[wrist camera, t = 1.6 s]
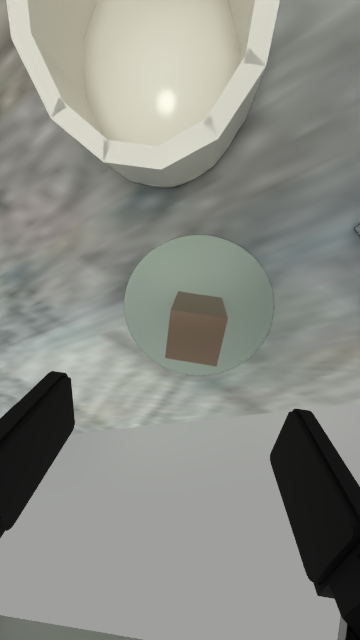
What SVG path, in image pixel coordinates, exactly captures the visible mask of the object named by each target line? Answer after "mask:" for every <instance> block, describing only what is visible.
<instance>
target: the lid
mask: <svg viewBox="0 0 360 640" xmlns="http://www.w3.org/2000/svg"><path fill="white" fill-rule="evenodd" d="M124 310H125V317H126V322H127V325H128V328H129V331H130V333H131V335H132V337H133V339H134V340H135V342H136V344H137V345H138V346H139V348H140V349H141V350H142V351H143V352H144V353H145V354H146V355H147V356H148V357H149V358H150V359H152V360H153V361H154V362H156V363H157V364H159V365H161V366H162V367H165V368H167V369H169V370H171V371H174V372H177V373H182V374H186V375H195V376H204V375H213V374H217V373H221V372H224V371H227V370H230V369H232V368H234V367H236V366H238V365H240V364H241V363H243V362H244V361H246V360H247V359H248V358H249V357H251V356H252V355H253V354H254V353H255V352H256V351H257V350H258V348H259V347H260V346H261V344H262V343H263V341H264V340H265V338H266V336H267V334H268V332H269V330H270V327H271V324H272V320H273V313H274V297H273V292H272V287H271V284H270V282H269V279H268V277H267V275H266V273H265V271H264V269H263V268H262V267H261V265H260V264H259V263H258V261H257V260H256V259H255V258H254V257H253V256H252V255H251V254H250V253H248V252H247V251H246V250H244V249H243V248H242V247H240V246H238V245H236V244H234V243H233V242H230V241H228V240H225V239H222V238H219V237H214V236H209V235H190V236H184V237H179V238H176V239H173V240H170V241H168V242H165V243H164V244H162V245H160V246H158V247H156V248H155V249H154V250H152V251H151V252H150V253H148V254H147V255H146V256H145V257H144V258H143V259H142V260H141V262H140V263H139V264H138V265H137V267H136V268H135V270H134V272H133V273H132V275H131V277H130V280H129V282H128V285H127V288H126V293H125V301H124Z"/></svg>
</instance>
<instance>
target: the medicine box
mask: <svg viewBox="0 0 360 640" xmlns="http://www.w3.org/2000/svg"><path fill="white" fill-rule="evenodd" d="M355 230H356V231H357V232H358V234H359V235H360V225H358V226H357V227H356V228H355Z"/></svg>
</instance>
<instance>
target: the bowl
mask: <svg viewBox="0 0 360 640" xmlns="http://www.w3.org/2000/svg"><path fill="white" fill-rule="evenodd" d="M6 1H7V8H8V16H9V24H10V31H11V38H12V41H13V43H14V45H15V47H16V49H17V51H18V53H19V55H20V57H21V59H22V61H23V63H24V65H25V67H26V69H27V71H28V73H29V75H30V77H31V79H32V81H33V83H34V85H35V87H36V89H37V91H38V93H39V95H40V97H41V99H42V101H43V103H44V105H45V107H46V109H47V111H48V113H49V115H50V117H51V119H52V120H54V121H55V122H56V123H57V124H58V125H60V126H61V127H62V128H63V129H64V130H66V131H67V132H68V133H69V134H70V135H72V136H73V137H74V138H75V139H76V140H77V141H79V142H80V143H81V144H82V145H83V146H85V147H86V148H87V149H88V150H89V151H91V152H92V153H93V154H94V155H95V156H97V157H98V158H99V159H100V160H101V161H103V162H104V163H105V164H107V165H108V166H110V167H111V168H112V169H114V170H115V171H117V172H118V173H120V174H121V175H122V176H124V177H125V178H127V179H128V180H130V181H131V182H137V183H141V184H144V185H147V186H152V187H163V188H166V187H175V186H179V185H183V184H185V183H188V182H190V181H193V180H194V179H196V178H198V177H199V176H201V175H203V174H204V173H205V172H207V171H208V170H209V169H210V168H212V167H213V166H214V165H215V164H216V162H217V161H218V160H219V159H220V158H221V157H222V155H223V154H224V153H225V152H226V150H227V149H228V147H229V146H230V144H231V142H232V141H233V139H234V137H235V135H236V133H237V131H238V130H239V128H240V127H241V125H242V124H243V123H244V121H245V119H246V117H247V114H248V112H249V109H250V106H251V104H252V101H253V99H254V96H255V93H256V91H257V88H258V86H259V83H260V80H261V78H262V75H263V73H264V70H265V67H266V64H267V59H268V54H269V50H270V45H271V40H272V35H273V30H274V26H275V21H276V16H277V11H278V6H279V2H280V0H6Z"/></svg>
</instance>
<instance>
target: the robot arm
mask: <svg viewBox="0 0 360 640" xmlns="http://www.w3.org/2000/svg"><path fill="white" fill-rule="evenodd" d="M74 425H75V420H74V409H73V398H72V387H71V379H70V378H69V377H68V376H67V374H66V373H61V372H54V371H52V372H50V373H48V374H47V375H46V376H45V377H44V378H43V379H42V380H41V381H40V382H39V383H38V384H37V385H36V386H35V387H34V388H33V389H32V390H31V391H29V392H28V393H27V394H26V395H25V396H24V397H23V398H22V399H21V400H20V401H19V402H18V403H17V404H16V405H14V406H13V407H12V408H11V409H10V410H9V411H8V412H7V413H6V414H5V415H4V416H3V417H2V418H1V419H0V538H1V536H2V535H3V533H4V532H5V530H6V531H7V530H9V529H10V528H11V527H12V526H13V525H14V523H15V522H16V520H17V519H18V517H19V515H20V514H21V512H22V511H23V509H24V508H25V506H26V504H27V503H28V501H29V499H30V498H31V496H32V495H33V493H34V492H35V490H36V488H37V487H38V485H39V484H40V482H41V480H42V479H43V477H44V475H45V474H46V472H47V471H48V469H49V467H50V466H51V464H52V463H53V461H54V460H55V458H56V456H57V455H58V453H59V451H60V450H61V448H62V447H63V445H64V444H65V442H66V440H67V439H68V437H69V436H70V434H71V432H72V431H73V428H74ZM270 461H271V465H272V468H273V471H274V475H275V478H276V481H277V484H278V487H279V490H280V493H281V496H282V499H283V502H284V506H285V509H286V512H287V515H288V518H289V521H290V525H291V527H292V531H293V534H294V537H295V540H296V543H297V546H298V549H299V552H300V556H301V559H302V562H303V565H304V568H305V571H306V574H307V576H308V578H309V579H310V581H312V582H313V583H314V586H315V589H316V592H317V595H318V596H323V597H329V598H334V599H335V600H336V603H337V606H338V608H339V611H340V614H341V618H340V625H339V632H338V639H337V640H360V487H359V485H358V483H357V482H356V480H355V479H354V477H353V476H352V474H351V472H350V471H349V469H348V468H347V466H346V465H345V463H344V462H343V460H342V458H341V457H340V455H339V454H338V452H337V451H336V449H335V447H334V446H333V444H332V443H331V441H330V440H329V438H328V436H327V435H326V434H325V432H324V430H323V429H322V427H321V426H320V424H319V423H318V421H317V419H316V418H315V416H314V415H313V413H312V412H311V411H307V410H301V409H294V410H293V411H292V412H289V414H288V416H287V418H286V420H285V422H284V425H283V427H282V429H281V431H280V434H279V436H278V439H277V440H276V443H275V445H274V447H273V449H272V452H271V454H270ZM0 640H141V639H135V638H130V637H124V636H118V635H113V634H107V633H101V632H95V631H90V630H84V629H78V628H72V627H66V626H60V625H54V624H48V623H42V622H36V621H30V620H25V619H19V618H13V617H7V616H1V615H0Z"/></svg>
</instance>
